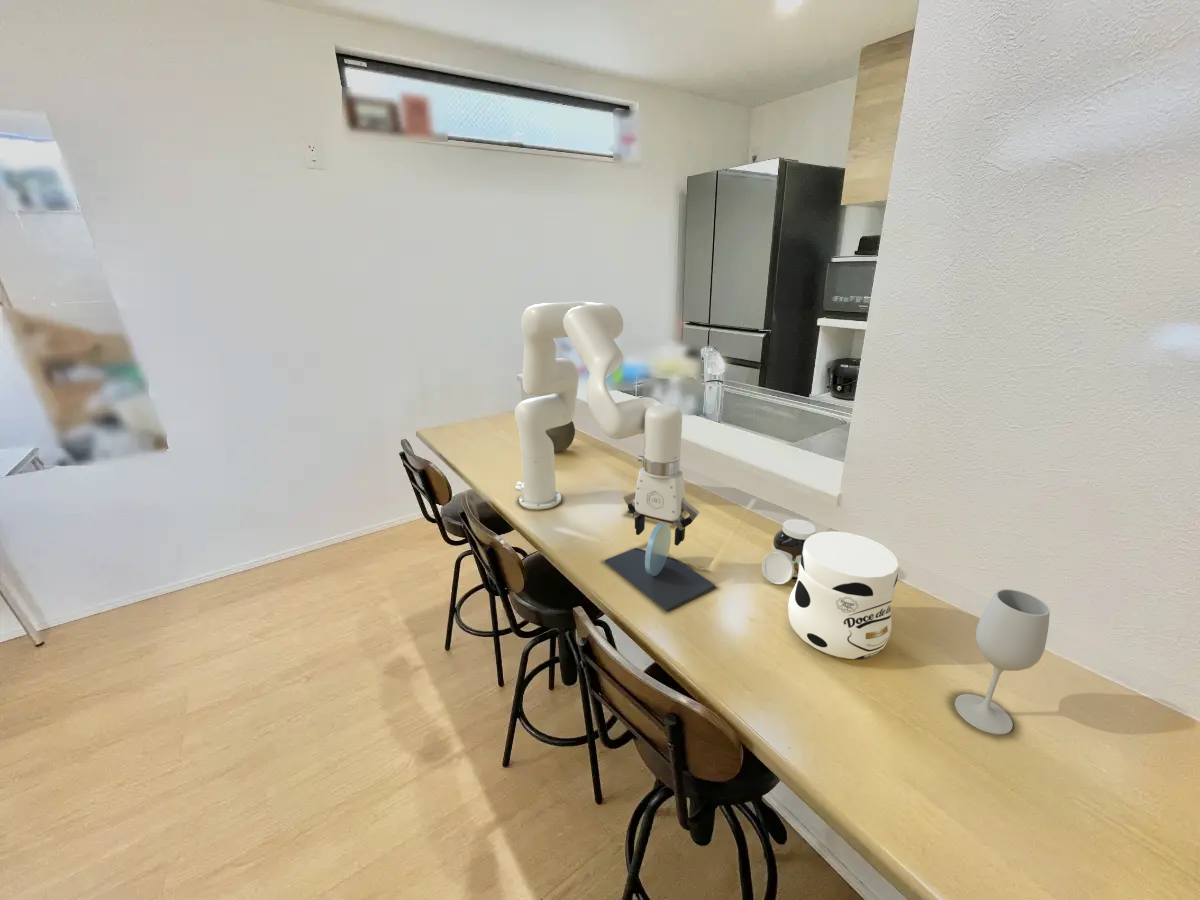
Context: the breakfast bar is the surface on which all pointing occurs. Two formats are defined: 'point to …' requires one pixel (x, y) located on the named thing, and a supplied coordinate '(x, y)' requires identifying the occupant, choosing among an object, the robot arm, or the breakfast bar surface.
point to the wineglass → (1005, 651)
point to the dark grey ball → (562, 436)
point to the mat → (661, 579)
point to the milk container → (844, 595)
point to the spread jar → (787, 551)
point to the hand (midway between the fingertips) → (659, 537)
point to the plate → (657, 548)
